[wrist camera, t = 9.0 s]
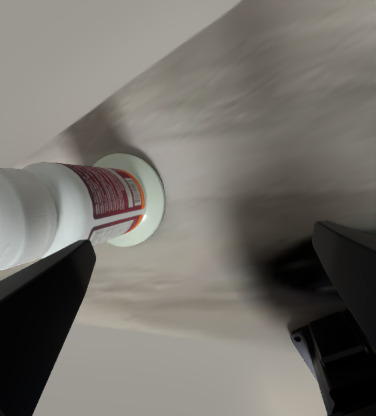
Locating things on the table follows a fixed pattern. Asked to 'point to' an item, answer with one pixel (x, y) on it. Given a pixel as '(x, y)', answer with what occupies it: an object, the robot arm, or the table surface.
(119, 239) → the dish
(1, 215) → the pill bottle
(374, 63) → the table surface
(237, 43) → the table surface
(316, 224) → the robot arm
